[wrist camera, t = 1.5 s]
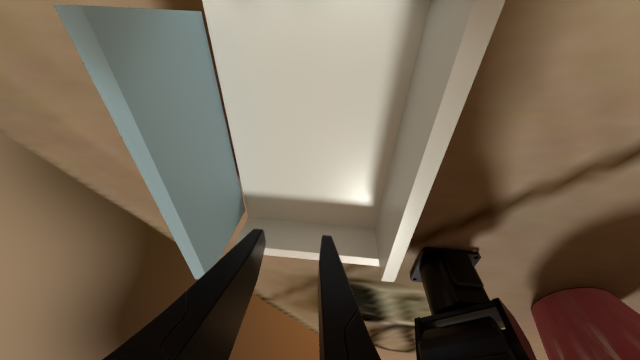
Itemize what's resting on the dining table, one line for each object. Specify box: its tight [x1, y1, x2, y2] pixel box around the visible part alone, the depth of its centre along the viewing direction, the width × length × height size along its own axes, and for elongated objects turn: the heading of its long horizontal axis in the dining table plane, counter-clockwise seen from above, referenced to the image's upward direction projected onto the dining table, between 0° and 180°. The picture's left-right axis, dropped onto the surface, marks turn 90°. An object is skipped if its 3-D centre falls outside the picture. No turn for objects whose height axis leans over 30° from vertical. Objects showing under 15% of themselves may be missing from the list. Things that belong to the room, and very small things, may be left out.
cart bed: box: [202, 0, 505, 282], centre depth 16 cm, size 20×14×8 cm
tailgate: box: [54, 5, 245, 279], centre depth 15 cm, size 16×2×8 cm, turn 178°
